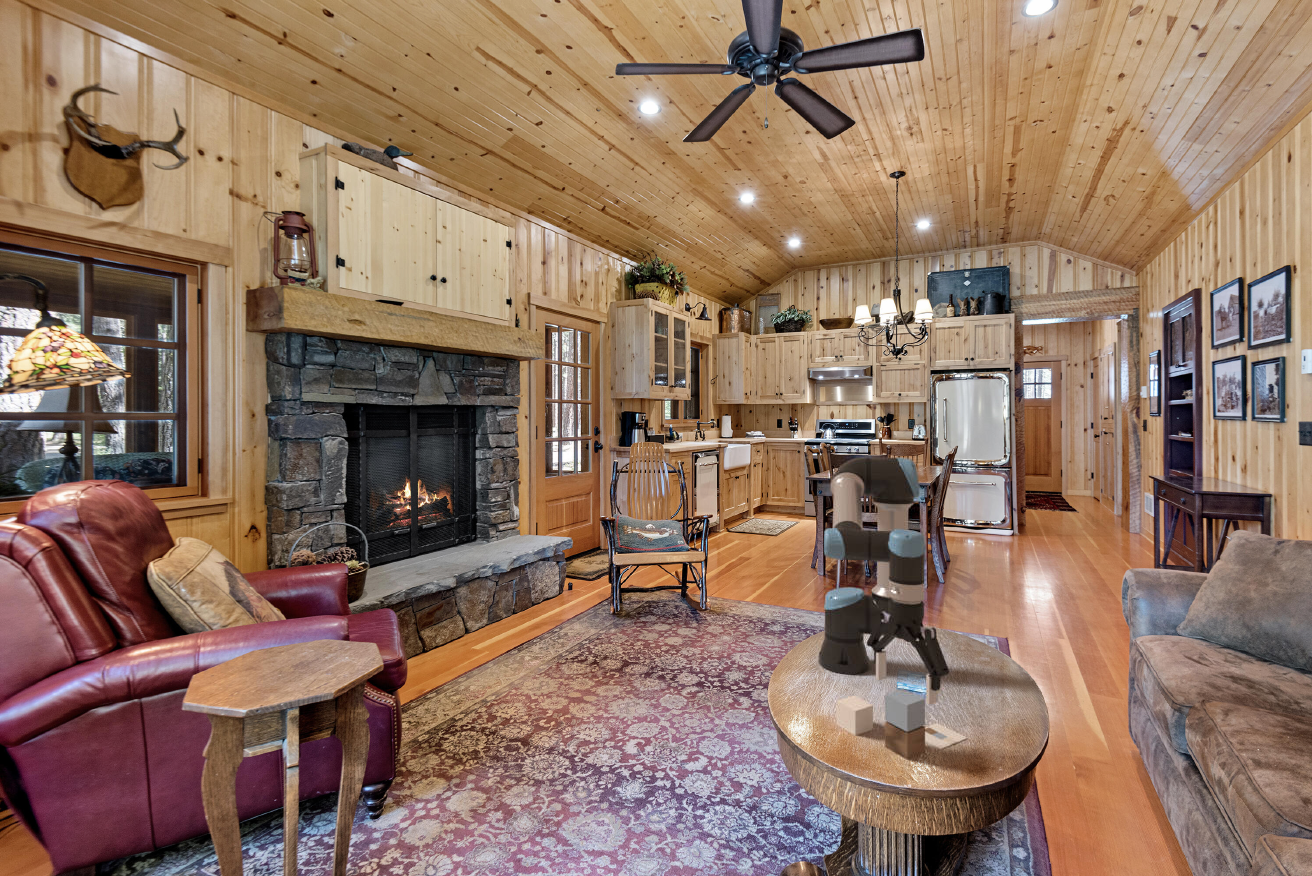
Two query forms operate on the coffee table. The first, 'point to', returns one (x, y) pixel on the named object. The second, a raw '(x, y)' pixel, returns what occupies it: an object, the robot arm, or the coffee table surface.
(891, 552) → the robot arm
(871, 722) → the cream brick
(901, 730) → the walnut base brick
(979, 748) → the coffee table surface
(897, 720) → the slate brick
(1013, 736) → the coffee table surface
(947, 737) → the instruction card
